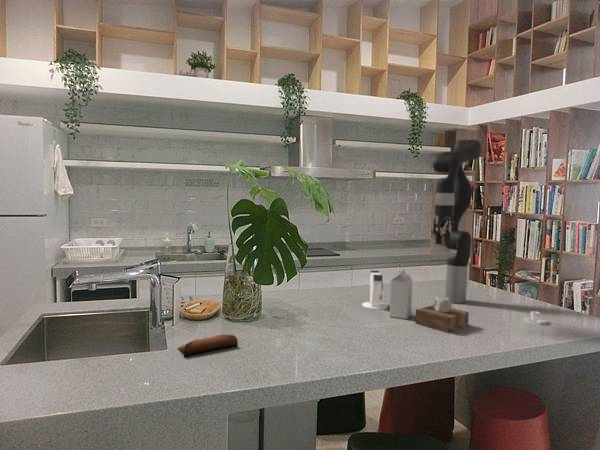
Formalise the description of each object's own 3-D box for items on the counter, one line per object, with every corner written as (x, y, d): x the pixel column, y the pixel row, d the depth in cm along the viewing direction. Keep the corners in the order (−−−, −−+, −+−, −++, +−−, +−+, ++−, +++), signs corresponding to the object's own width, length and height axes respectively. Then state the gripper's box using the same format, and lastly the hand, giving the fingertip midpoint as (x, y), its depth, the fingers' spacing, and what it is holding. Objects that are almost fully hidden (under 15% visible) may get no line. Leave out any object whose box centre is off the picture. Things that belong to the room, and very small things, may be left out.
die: (439, 312, 169) (439, 299, 169) (433, 309, 174) (433, 296, 174) (451, 312, 170) (452, 299, 170) (444, 309, 175) (445, 296, 175)
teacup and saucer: (549, 326, 175) (550, 316, 175) (527, 324, 177) (528, 314, 176) (542, 320, 184) (543, 310, 183) (521, 318, 185) (522, 308, 185)
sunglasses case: (226, 338, 151) (231, 324, 148) (234, 354, 147) (239, 340, 143) (174, 348, 141) (178, 334, 138) (181, 366, 136) (185, 351, 133)
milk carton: (389, 316, 182) (391, 270, 180) (394, 312, 188) (395, 268, 187) (406, 319, 179) (408, 272, 177) (411, 315, 185) (413, 269, 183)
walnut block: (436, 318, 183) (437, 304, 182) (467, 327, 172) (468, 312, 171) (415, 324, 174) (415, 309, 173) (447, 334, 163) (447, 318, 162)
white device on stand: (390, 309, 192) (391, 275, 191) (363, 309, 193) (364, 274, 191) (385, 302, 204) (386, 270, 203) (360, 302, 205) (361, 269, 203)
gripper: (443, 203, 192) (441, 240, 193) (428, 204, 181) (426, 243, 183) (460, 204, 187) (458, 242, 188) (446, 204, 176) (444, 245, 178)
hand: (443, 243), depth 185 cm, fingers open, 8 cm apart
